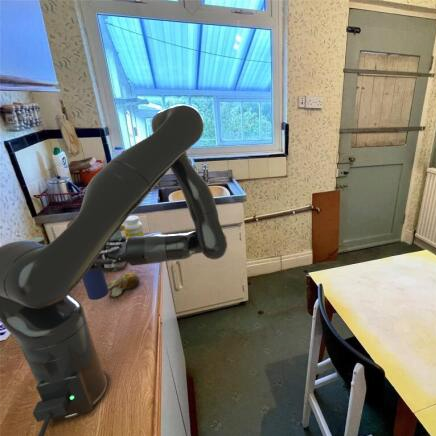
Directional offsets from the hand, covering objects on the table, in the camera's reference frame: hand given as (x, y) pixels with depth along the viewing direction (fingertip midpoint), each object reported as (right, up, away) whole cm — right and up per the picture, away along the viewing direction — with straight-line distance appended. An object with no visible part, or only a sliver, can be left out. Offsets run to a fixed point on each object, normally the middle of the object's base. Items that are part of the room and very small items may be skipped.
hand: (75, 256), depth 71 cm
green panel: (-6, -6, +31) cm, 31 cm away
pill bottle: (-8, -1, +42) cm, 43 cm away
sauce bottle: (-13, -15, +9) cm, 21 cm away
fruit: (+1, -12, +17) cm, 21 cm away
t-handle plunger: (+2, -11, +5) cm, 12 cm away
